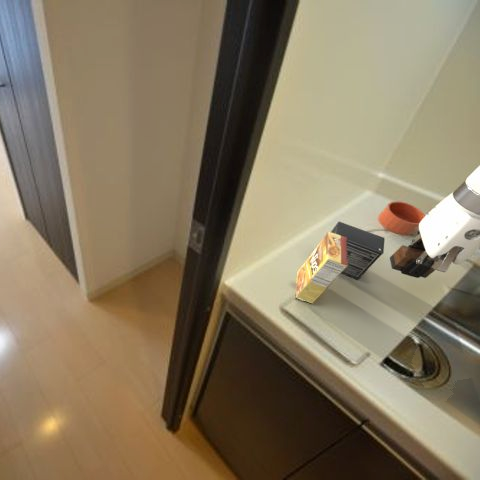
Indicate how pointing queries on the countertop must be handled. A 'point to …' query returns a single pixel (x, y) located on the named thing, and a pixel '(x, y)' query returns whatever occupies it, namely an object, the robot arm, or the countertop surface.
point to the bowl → (401, 218)
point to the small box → (359, 249)
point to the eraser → (407, 258)
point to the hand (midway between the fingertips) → (407, 266)
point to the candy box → (322, 267)
